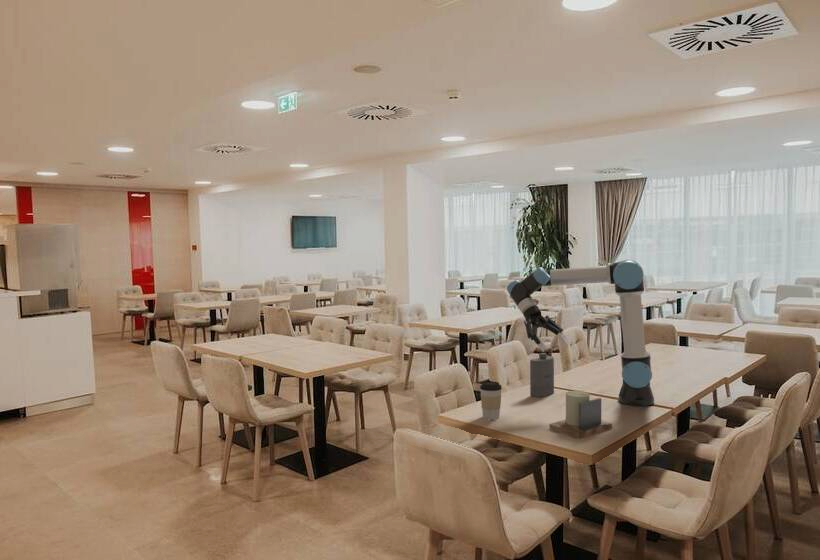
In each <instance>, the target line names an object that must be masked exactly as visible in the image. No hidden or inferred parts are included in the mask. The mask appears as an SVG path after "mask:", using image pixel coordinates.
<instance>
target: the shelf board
mask: <svg viewBox="0 0 820 560" xmlns="http://www.w3.org/2000/svg"><path fill="white" fill-rule="evenodd" d="M565 420H566V419H563V420H559V421H556V422H552V423H549V430H552V431H554V432H557V433H560V434H562V435H567V436H569V437H572V438H575V439H581V438H585V437H588V436H591V435H594V433H595V434H598V433H600V432H605V431H609V430H611V429H613V422H611V421H606V420H603V419H601V423H604V424H606V425H604V426H601V427H598V428H594V429H591V430H588V431H583V430H580V429H579V426H573V425H569V424H567V423H566V422H565ZM610 428H611V429H610ZM604 430H605V431H604ZM597 432H598V433H597Z"/></svg>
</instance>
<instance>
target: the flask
mask: <svg viewBox="0 0 820 560" xmlns="http://www.w3.org/2000/svg"><path fill="white" fill-rule="evenodd" d="M538 355H539V357H537V358H533V359H530V360H529V372H530V373H529V374H530V375H529V377H530V378H529V379H530V380H529V383H530V384H529V385H530V386H529V388H530V389H529V390H530V392H529V393H530V397H531V398H534V397H535V398H537V399H539V398H544V396H545V397H548V396H551V395H553V394H554V393H555V357H553V356H552V355H551V356H549V355H548V354H547V353H546V352H541V353H539V354H538Z"/></svg>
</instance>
